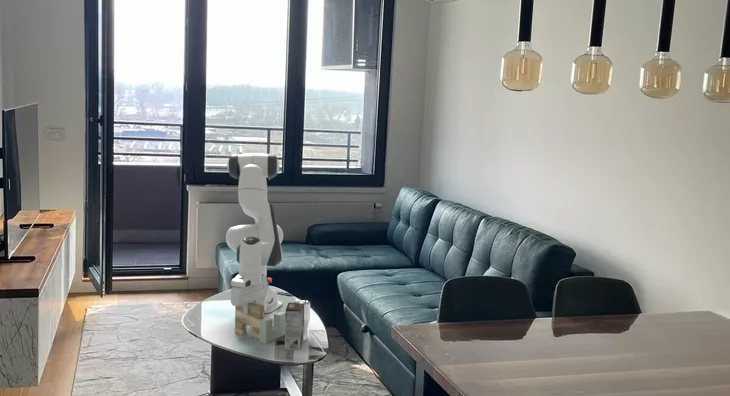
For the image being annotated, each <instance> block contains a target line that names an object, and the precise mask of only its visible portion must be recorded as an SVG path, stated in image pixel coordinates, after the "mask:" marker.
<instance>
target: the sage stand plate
mask: <svg viewBox="0 0 730 396" xmlns="http://www.w3.org/2000/svg"><path fill="white" fill-rule="evenodd" d="M285 321H286V311H285V312H284V311H277V312H275V313H274V314H273V318H272V317H264V319H262V320H260V335H259V342H260V344H264V345H266V344H269V343H270V342H272V341H274V340H278V339H279V338H280V337H283V336H285Z"/></svg>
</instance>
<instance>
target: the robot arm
mask: <svg viewBox="0 0 730 396" xmlns="http://www.w3.org/2000/svg"><path fill="white" fill-rule="evenodd" d="M226 167H227V172H228V174H229V176H230V177H232V178H234V179H235V180H238V187H237V196H238V197H237V198H238V203H239V205H240V207H241V209H242V211H243V213H244V214H245V215H246V216H248V217H251V218H253V219H254V222H255V223H254V224H238V225H234V226H230V227H229V228H228V230H227V231H226V233H225V242H226V244H227V246H228V247H229V248H230V249H231V250H232V251H234V252H235V253H236V262H237V263H238V264H239V269H238V274H237V275H236V276H235V277H234V278H232V279H231V281H230V286H231V289H230V304H231V305H232V306H233V307H235V306H237V307H239V306H242V307H243V309H244V311H243V312H244V313H245V314H247V313H249V309H248V307H247V306H248V303H249V302H251V303H256V304H261V305H264V314H271V313H272V312H274V311H275V310H277V309H279V308H280V307H281V306H283V302H282V301H280V300H278V292H277V291H275V290H274V289H273V288H272V287H270V283H272V280H273V278H272V277H267V273H268V272H267V267H276V266H279V264H280V263H281V262H282V260H283V255H284V254H283V249H282V245H281V244H282V242H283V239H284V231H283V229H282V228H281V227H280V226H279V224H277V218H276V212H275V209H274V205H272V203H270V202H269V201H268V184H267V182H268V181H270V180H271V179H274V178H275V177H276V176H277V175H278V173H279V171H280V161H279V159H278V156H276V155H275V154H272V153H262V152H261V153H260V152H253V153H241V154H239V153H234V154H231V156H229V157H228V160H227V165H226ZM267 179H268V181H267Z"/></svg>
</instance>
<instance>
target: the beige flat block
mask: <svg viewBox="0 0 730 396" xmlns="http://www.w3.org/2000/svg"><path fill="white" fill-rule="evenodd" d="M234 307H235V310H234V312H235V313H234V314H235V315H234V316H235V317H234V334H237V335H241V336H243V335H245V334H247V327H248V326H249V327H252V328H251V329H252V330H251V331H252V332H251V334H252V335H251V337H252V338H253V339H258V338H259V335H260V320H262V319H264V318H265V313H264V305H261V304H256V303H251V302H249V303H248V306H247V307H248V309H249V313H247V314H245V313H244V312H243V311H244V309H243V307H242V306H239V307H237V306H234Z"/></svg>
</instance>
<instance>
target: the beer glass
mask: <svg viewBox="0 0 730 396" xmlns="http://www.w3.org/2000/svg"><path fill="white" fill-rule="evenodd" d="M293 303H304V337H303V343H304V342H307V341H308V340H309V334H308V333H309V332H308V331H309V324H310V320H311V319H310V318H311V302H310V301H308V300H295V301H293Z"/></svg>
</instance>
